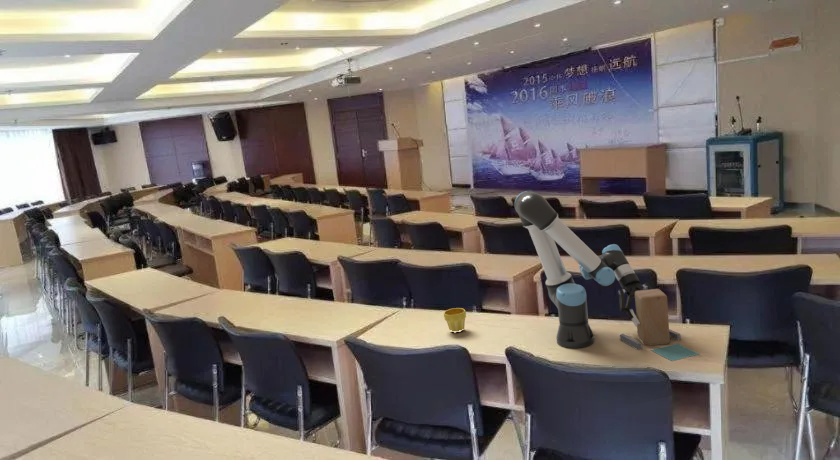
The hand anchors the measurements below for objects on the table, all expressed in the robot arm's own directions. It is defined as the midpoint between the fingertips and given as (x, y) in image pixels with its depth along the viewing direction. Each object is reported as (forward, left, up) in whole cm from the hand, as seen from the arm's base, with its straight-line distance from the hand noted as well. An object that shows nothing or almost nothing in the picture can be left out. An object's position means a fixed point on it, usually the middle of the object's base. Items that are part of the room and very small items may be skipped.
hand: (652, 321), depth 221 cm
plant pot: (-56, -65, -8) cm, 86 cm away
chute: (0, -1, -8) cm, 8 cm away
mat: (+14, -1, -8) cm, 16 cm away
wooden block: (+1, -1, -8) cm, 8 cm away
